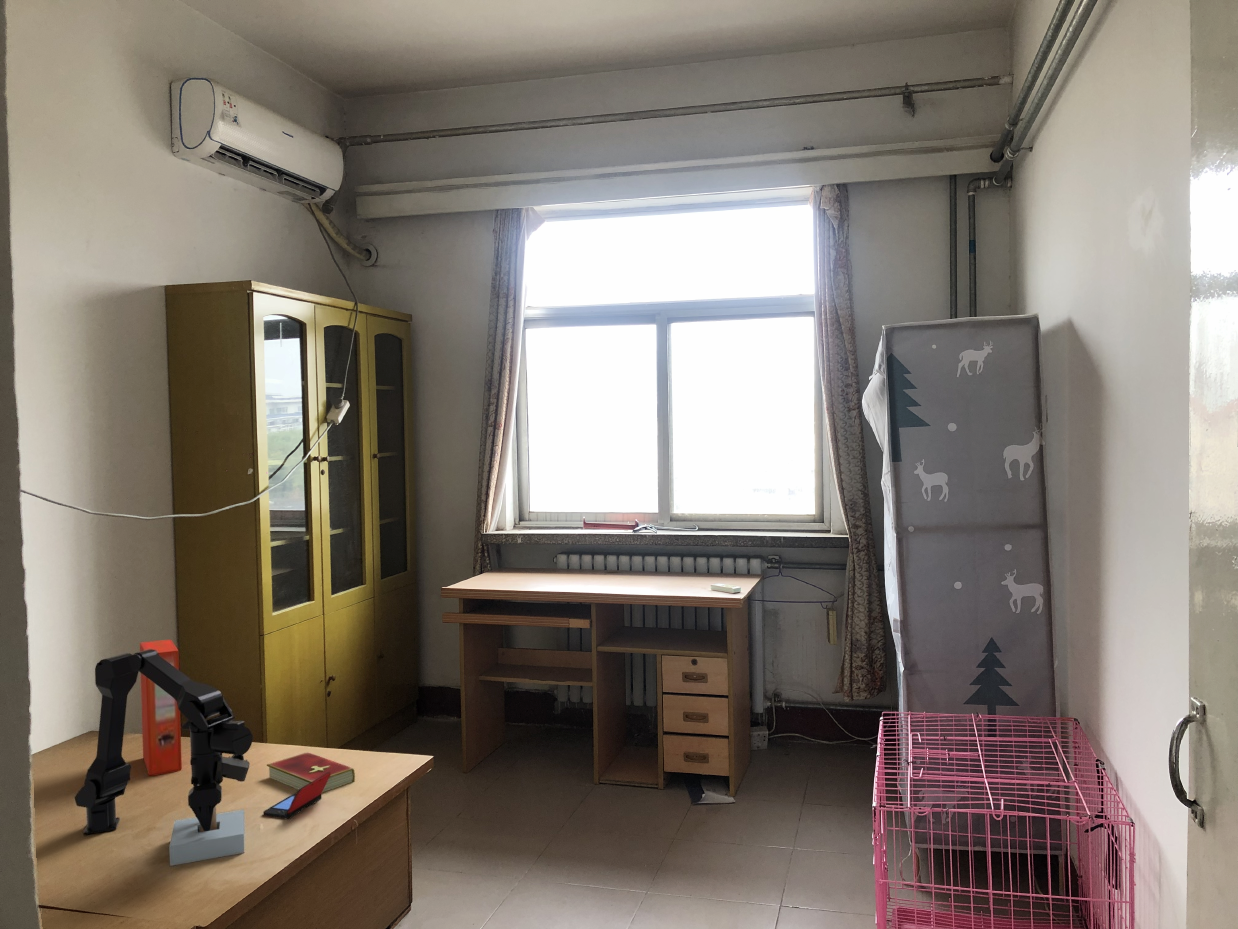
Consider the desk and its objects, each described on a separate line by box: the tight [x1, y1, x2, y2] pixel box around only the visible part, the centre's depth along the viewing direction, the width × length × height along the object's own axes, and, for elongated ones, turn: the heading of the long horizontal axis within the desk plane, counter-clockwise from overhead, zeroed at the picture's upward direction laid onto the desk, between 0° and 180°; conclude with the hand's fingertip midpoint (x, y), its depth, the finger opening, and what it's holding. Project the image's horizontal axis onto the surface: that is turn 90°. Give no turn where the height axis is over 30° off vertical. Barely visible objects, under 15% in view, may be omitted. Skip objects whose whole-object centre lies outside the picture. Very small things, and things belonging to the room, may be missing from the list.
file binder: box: [139, 639, 183, 776], centre depth 248 cm, size 8×17×32 cm, turn 32°
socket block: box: [169, 809, 246, 867], centre depth 196 cm, size 14×14×4 cm
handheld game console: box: [262, 772, 331, 820], centre depth 215 cm, size 12×11×7 cm
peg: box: [200, 806, 217, 832], centre depth 196 cm, size 3×3×8 cm
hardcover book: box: [266, 751, 356, 793], centre depth 233 cm, size 12×21×4 cm, turn 50°
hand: (208, 822), depth 196 cm, fingers open, 9 cm apart
